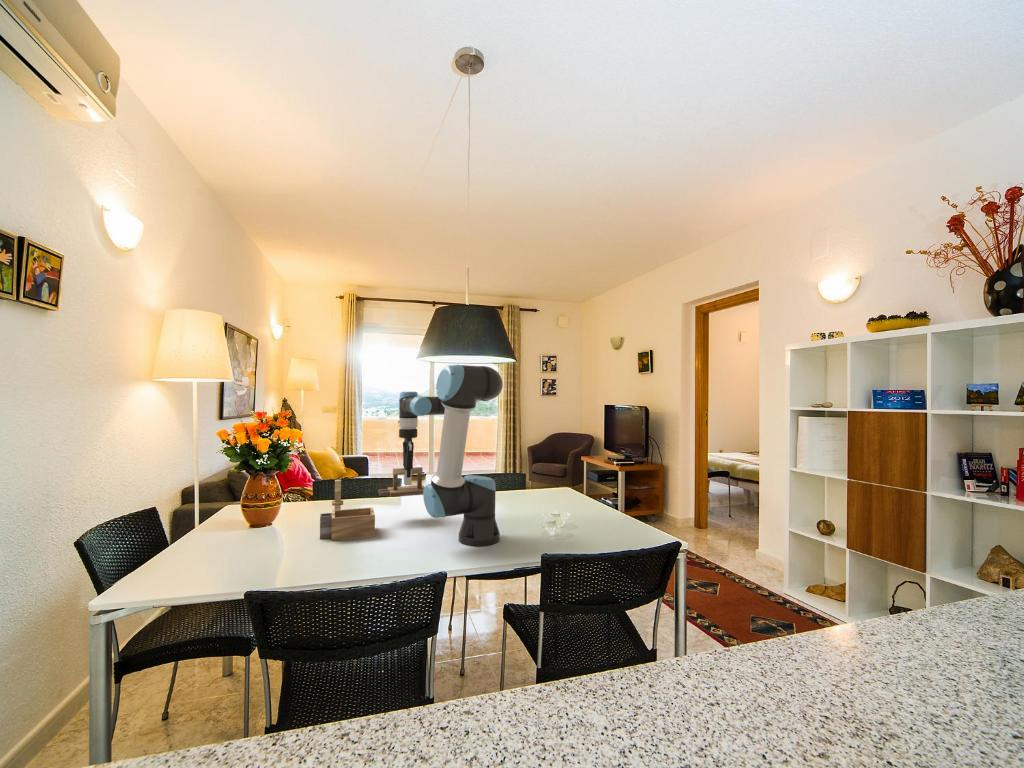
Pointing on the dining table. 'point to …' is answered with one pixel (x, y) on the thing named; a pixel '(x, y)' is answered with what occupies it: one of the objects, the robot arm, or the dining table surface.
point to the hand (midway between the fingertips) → (407, 484)
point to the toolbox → (347, 524)
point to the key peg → (337, 495)
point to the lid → (403, 490)
